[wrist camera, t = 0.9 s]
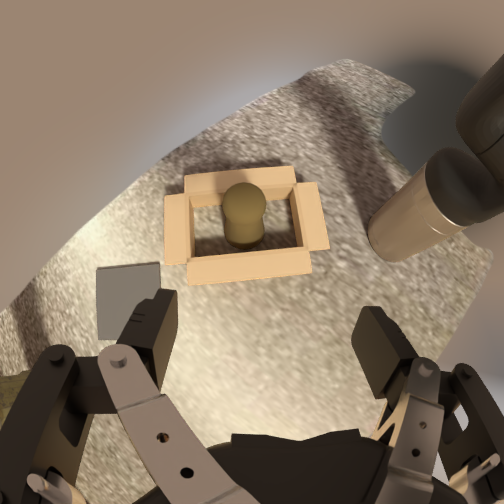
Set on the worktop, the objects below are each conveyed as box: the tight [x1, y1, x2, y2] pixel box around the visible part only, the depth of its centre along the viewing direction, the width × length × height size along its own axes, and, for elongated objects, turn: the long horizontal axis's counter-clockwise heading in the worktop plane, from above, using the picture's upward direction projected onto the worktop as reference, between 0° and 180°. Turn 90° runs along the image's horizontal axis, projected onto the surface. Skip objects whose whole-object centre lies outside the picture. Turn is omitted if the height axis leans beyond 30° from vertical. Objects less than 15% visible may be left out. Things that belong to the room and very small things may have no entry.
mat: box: [96, 264, 161, 340], centre depth 38 cm, size 11×11×1 cm
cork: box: [222, 182, 266, 250], centre depth 36 cm, size 6×6×11 cm
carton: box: [164, 166, 330, 286], centre depth 39 cm, size 22×16×4 cm
